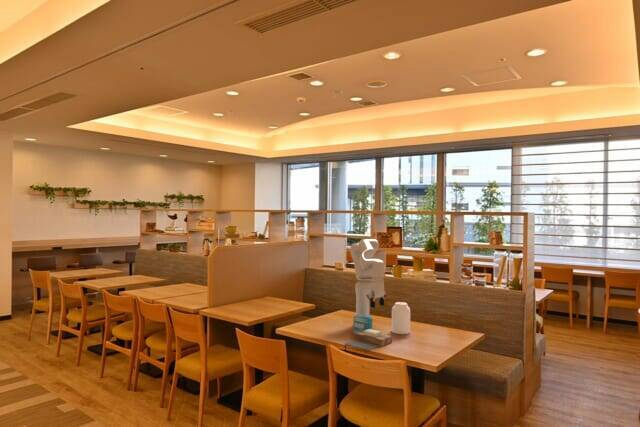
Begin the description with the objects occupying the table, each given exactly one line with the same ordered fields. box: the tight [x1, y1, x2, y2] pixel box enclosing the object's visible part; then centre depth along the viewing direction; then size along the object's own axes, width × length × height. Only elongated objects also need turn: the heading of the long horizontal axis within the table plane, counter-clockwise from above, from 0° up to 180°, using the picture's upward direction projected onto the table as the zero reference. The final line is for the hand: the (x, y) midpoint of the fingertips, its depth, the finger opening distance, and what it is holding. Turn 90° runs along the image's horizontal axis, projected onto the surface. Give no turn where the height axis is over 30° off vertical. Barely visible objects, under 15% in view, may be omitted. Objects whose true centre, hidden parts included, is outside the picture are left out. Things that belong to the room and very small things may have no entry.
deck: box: [354, 330, 393, 347], centre depth 275 cm, size 12×20×4 cm, turn 49°
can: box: [390, 301, 411, 335], centre depth 297 cm, size 12×12×20 cm
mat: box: [344, 339, 381, 351], centre depth 266 cm, size 12×18×1 cm, turn 49°
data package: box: [352, 314, 373, 334], centre depth 291 cm, size 12×4×12 cm, turn 60°
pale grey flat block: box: [364, 328, 382, 337], centre depth 275 cm, size 6×9×2 cm, turn 49°
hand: (377, 306), depth 280 cm, fingers open, 9 cm apart
